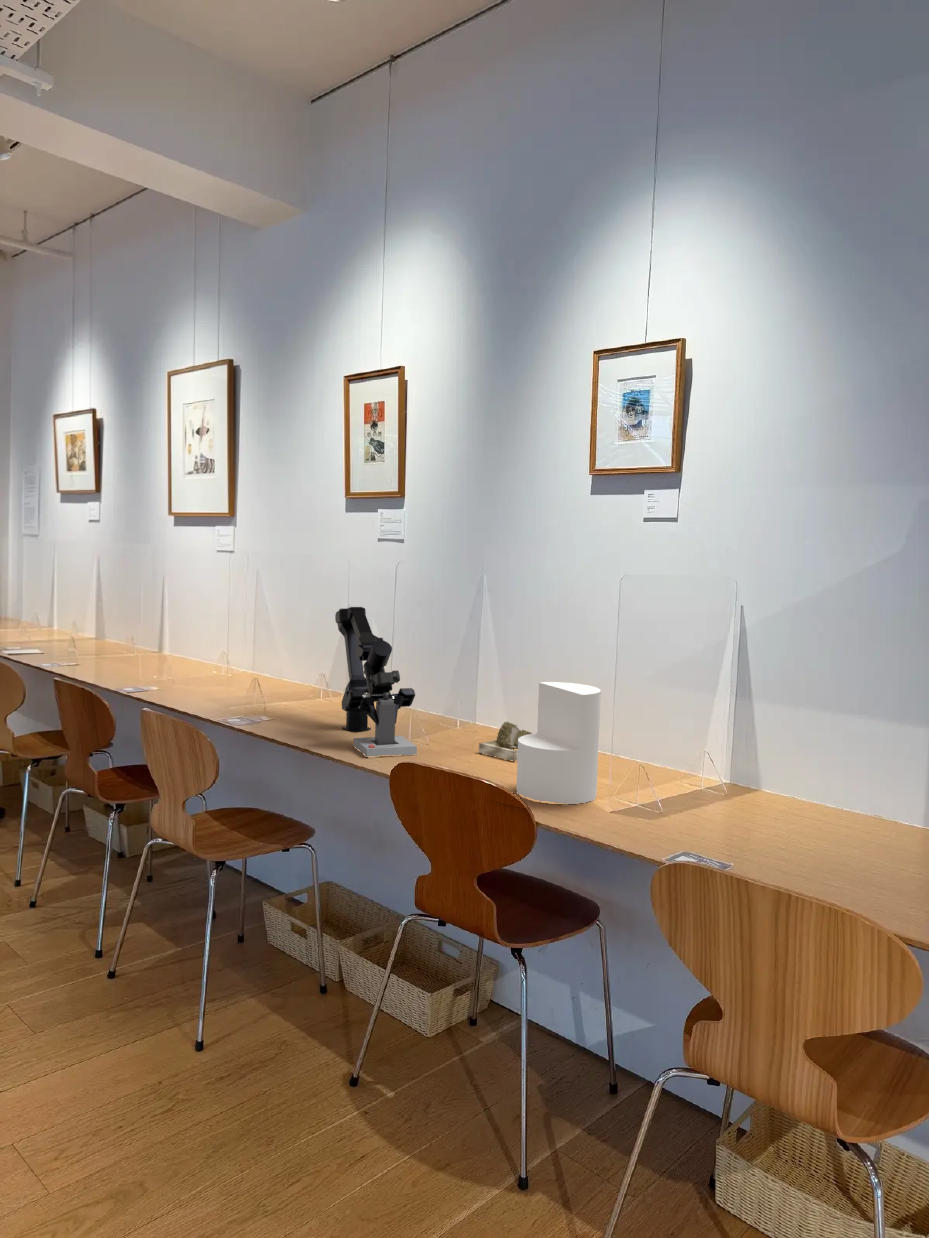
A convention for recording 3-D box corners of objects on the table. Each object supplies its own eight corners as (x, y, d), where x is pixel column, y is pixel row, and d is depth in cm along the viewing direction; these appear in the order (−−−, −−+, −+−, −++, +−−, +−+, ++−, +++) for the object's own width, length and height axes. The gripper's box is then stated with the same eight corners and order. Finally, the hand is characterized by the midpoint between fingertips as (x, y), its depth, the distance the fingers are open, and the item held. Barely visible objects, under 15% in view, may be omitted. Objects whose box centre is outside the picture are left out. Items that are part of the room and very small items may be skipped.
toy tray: (478, 753, 251) (479, 743, 251) (527, 742, 266) (528, 733, 266) (514, 762, 242) (514, 751, 242) (563, 750, 257) (563, 740, 257)
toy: (553, 740, 252) (509, 723, 261) (542, 735, 247) (498, 718, 256) (543, 764, 252) (500, 747, 260) (532, 760, 246) (488, 742, 255)
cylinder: (572, 780, 225) (576, 681, 223) (611, 801, 208) (616, 693, 206) (503, 786, 218) (506, 683, 216) (537, 808, 201) (541, 696, 199)
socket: (353, 746, 255) (353, 736, 255) (400, 744, 260) (401, 733, 260) (366, 758, 242) (367, 747, 242) (416, 755, 247) (416, 744, 247)
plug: (374, 744, 252) (376, 691, 251) (390, 744, 254) (392, 691, 252) (378, 748, 248) (379, 694, 247) (394, 747, 250) (396, 693, 248)
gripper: (349, 661, 249) (359, 708, 240) (414, 659, 256) (426, 705, 247) (342, 684, 257) (351, 731, 248) (404, 683, 264) (415, 728, 255)
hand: (386, 723), depth 249 cm, fingers closed on plug, 5 cm apart
